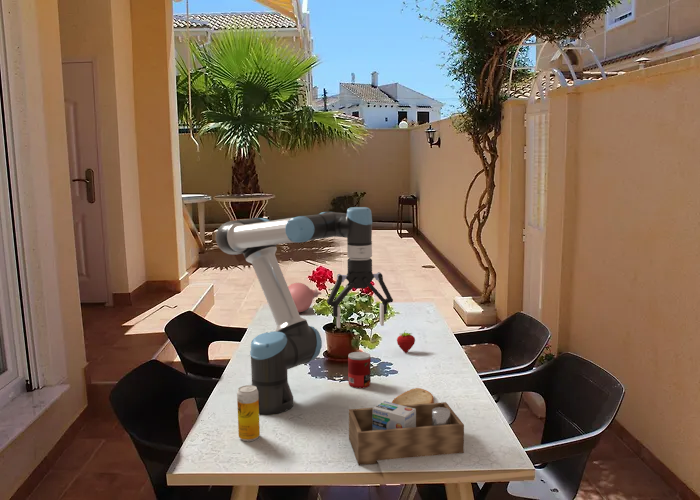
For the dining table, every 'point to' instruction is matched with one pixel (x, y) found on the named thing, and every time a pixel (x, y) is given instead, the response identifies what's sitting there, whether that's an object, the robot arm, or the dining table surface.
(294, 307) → the robot arm
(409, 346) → the strawberry
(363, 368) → the canned food
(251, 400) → the beer can
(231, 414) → the dining table surface
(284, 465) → the dining table surface
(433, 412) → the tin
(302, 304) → the pink rounded piece
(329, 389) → the dining table surface
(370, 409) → the crate
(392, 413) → the light bulb box
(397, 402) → the slice of bread
